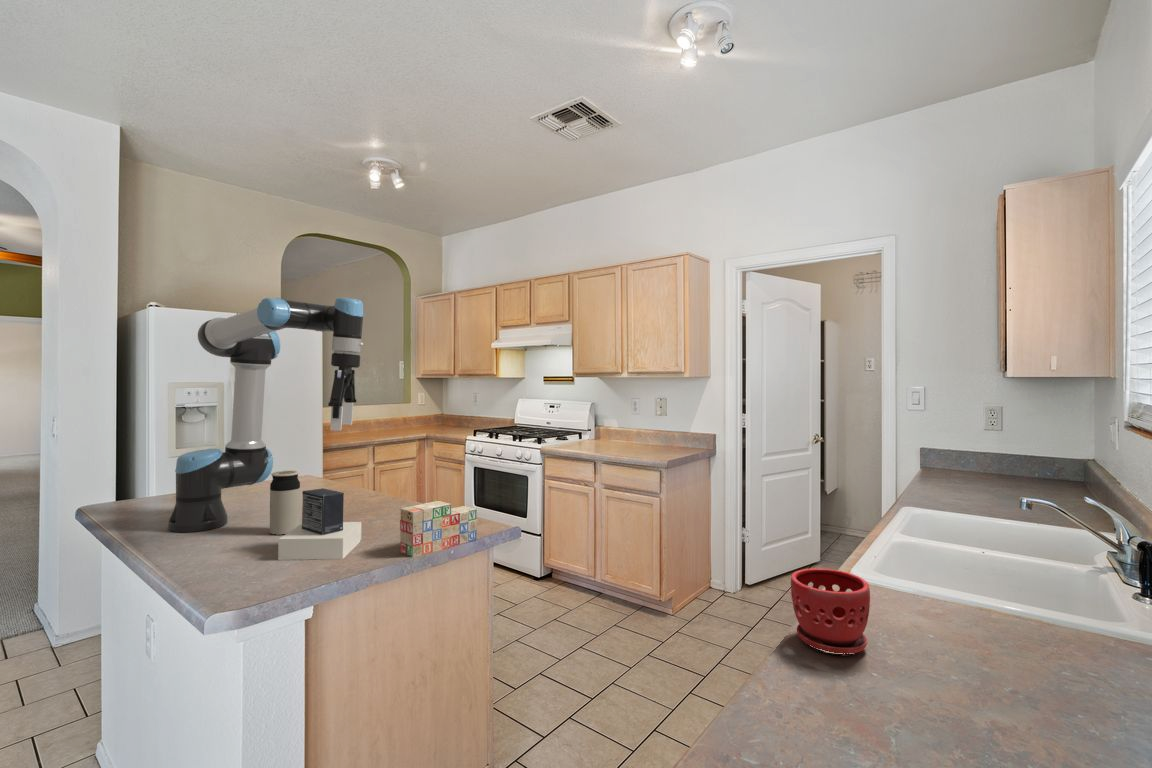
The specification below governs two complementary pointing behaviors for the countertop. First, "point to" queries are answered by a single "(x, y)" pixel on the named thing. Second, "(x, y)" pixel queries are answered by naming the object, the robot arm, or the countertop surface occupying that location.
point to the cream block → (319, 543)
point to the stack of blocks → (435, 527)
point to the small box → (322, 511)
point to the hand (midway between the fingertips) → (341, 427)
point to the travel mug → (284, 502)
